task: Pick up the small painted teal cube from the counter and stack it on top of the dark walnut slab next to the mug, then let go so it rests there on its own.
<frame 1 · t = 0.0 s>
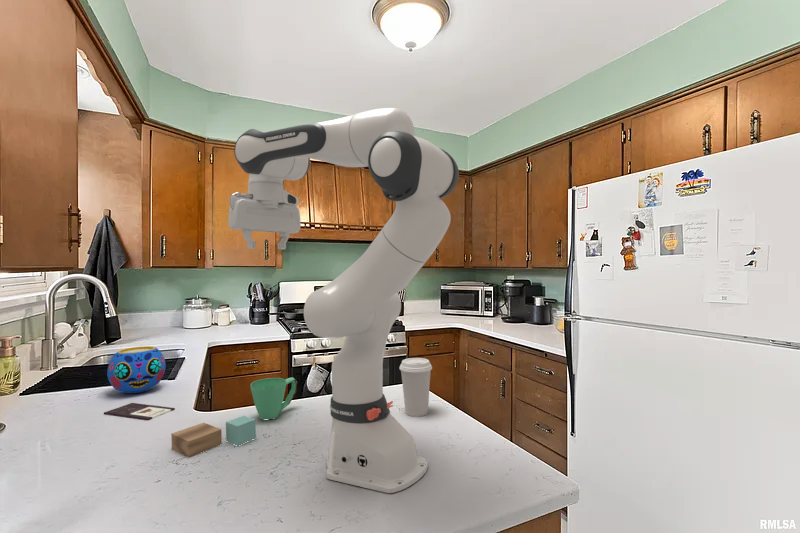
hand: (267, 248, 106), 48 cm above the countertop, fingers open, 8 cm apart
mug: (276, 415, 118), on the countertop
walnut slab: (197, 447, 97), on the countertop
chocolate bar: (139, 414, 122), on the countertop
teal cube: (241, 440, 100), on the countertop
coffee cup: (416, 413, 117), on the countertop
ceramic pot: (137, 391, 144), on the countertop
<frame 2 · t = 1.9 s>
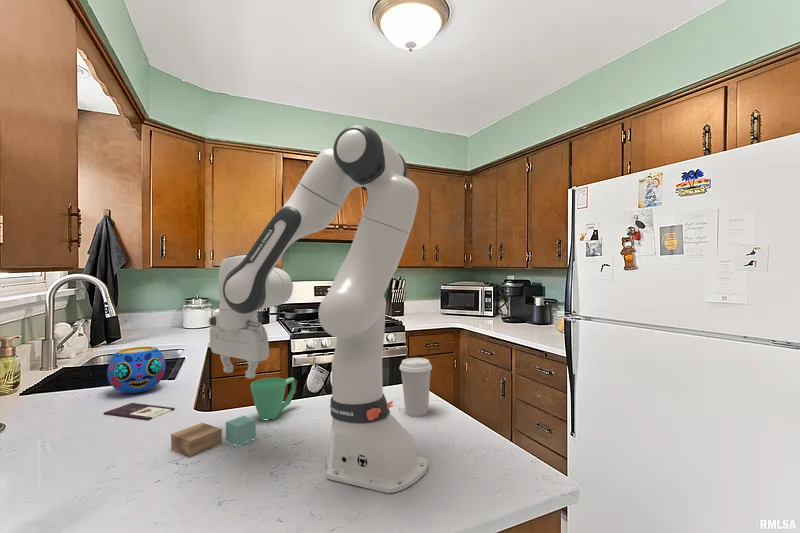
hand: (239, 374, 101), 16 cm above the countertop, fingers open, 8 cm apart
nothing on the countertop moved.
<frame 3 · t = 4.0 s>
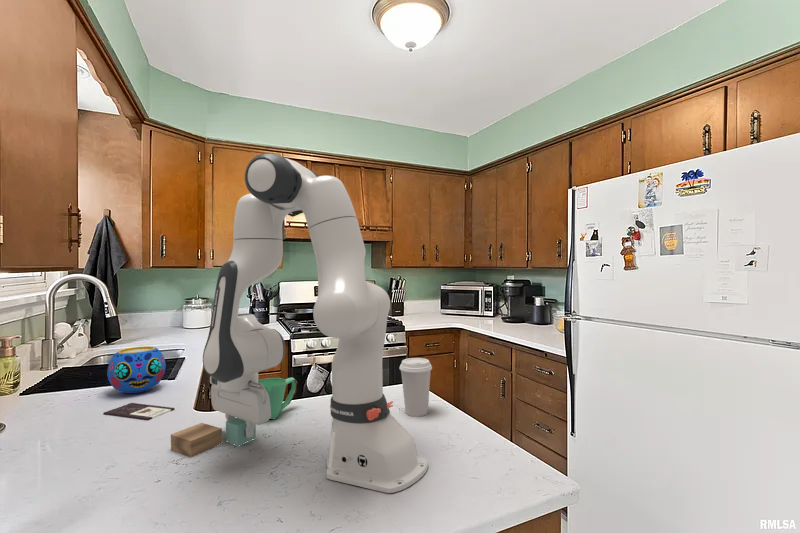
hand: (241, 433, 100), 2 cm above the countertop, fingers closed on teal cube, 5 cm apart
teal cube: (241, 440, 100), on the countertop, touching gripper
everything else where it was.
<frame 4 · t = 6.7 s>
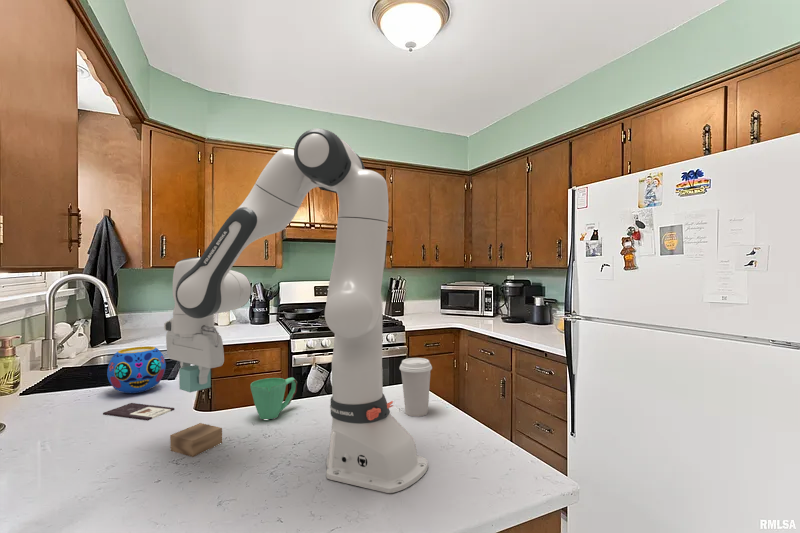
hand: (195, 381, 97), 16 cm above the countertop, fingers closed on teal cube, 5 cm apart
teal cube: (195, 388, 97), point 14 cm above the countertop, touching gripper
everything else where it was.
when the fingers open (7 cm above the countertop, at t = 9.0 s): teal cube drops 1 cm, point 4 cm above the countertop.
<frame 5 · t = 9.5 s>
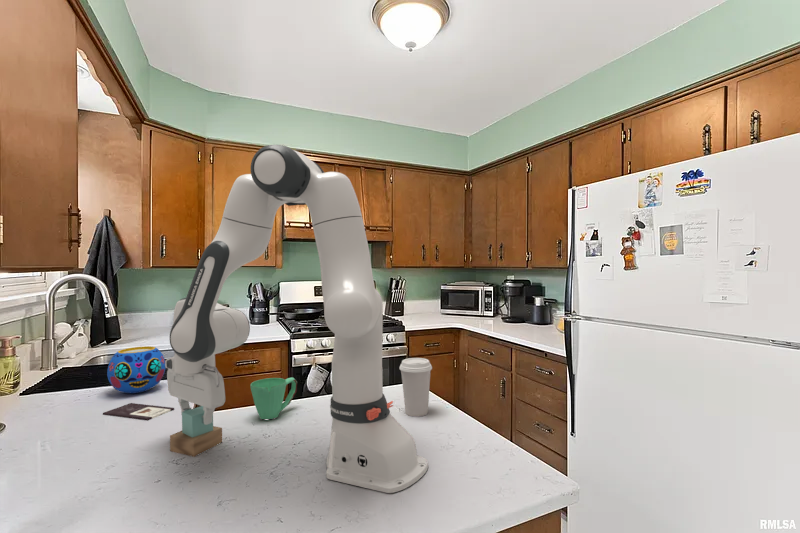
hand: (196, 419, 97), 7 cm above the countertop, fingers open, 8 cm apart
teal cube: (197, 431, 97), point 4 cm above the countertop
everything else where it was.
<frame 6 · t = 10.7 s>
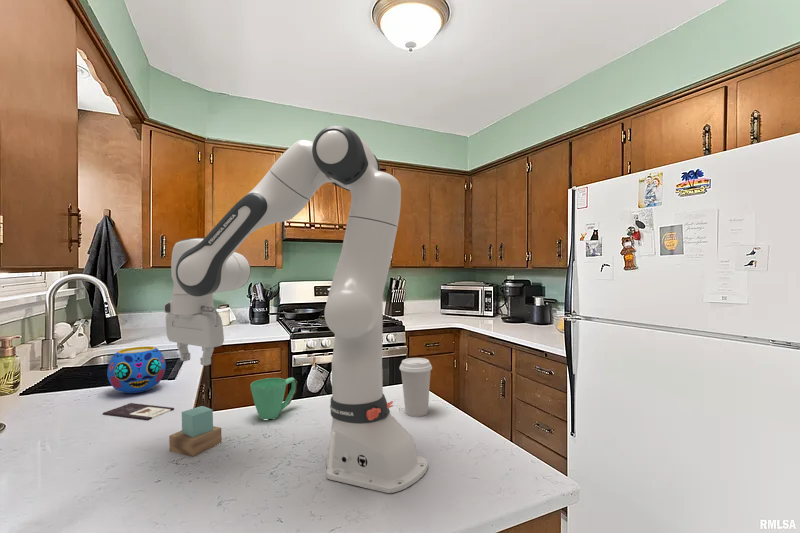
hand: (195, 362, 97), 20 cm above the countertop, fingers open, 8 cm apart
walnut slab: (196, 448, 97), on the countertop, touching teal cube
teal cube: (197, 431, 97), point 4 cm above the countertop, touching walnut slab
everything else where it was.
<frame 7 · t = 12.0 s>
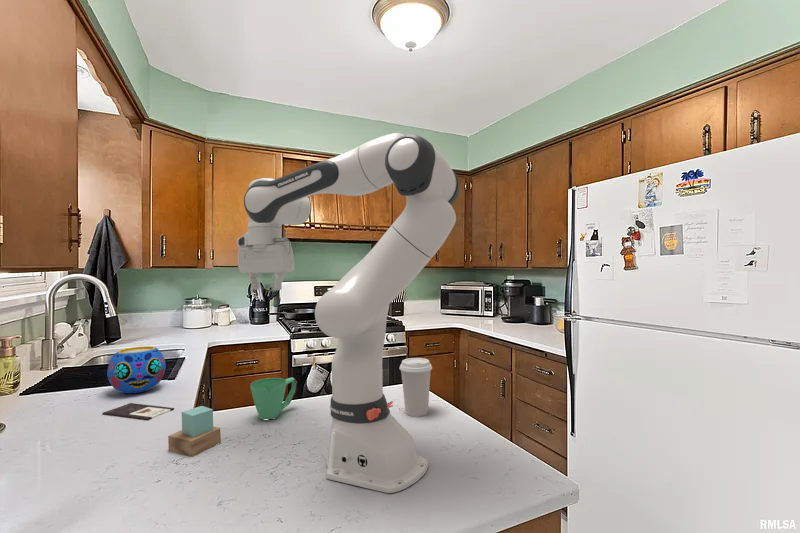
hand: (266, 289, 110), 37 cm above the countertop, fingers open, 8 cm apart
walnut slab: (195, 448, 97), on the countertop
teal cube: (197, 431, 98), point 4 cm above the countertop
everything else where it was.
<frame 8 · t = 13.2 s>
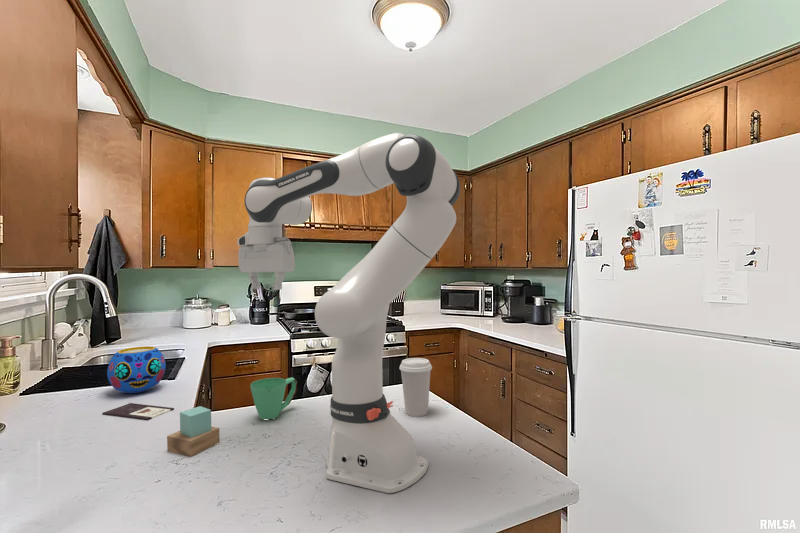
hand: (266, 289, 110), 37 cm above the countertop, fingers open, 8 cm apart
nothing on the countertop moved.
at the end: teal cube 0.5 cm off-centre on the walnut slab, point 4.0 cm above the walnut slab's base; teal cube tilted 0°; the gripper is holding nothing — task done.
